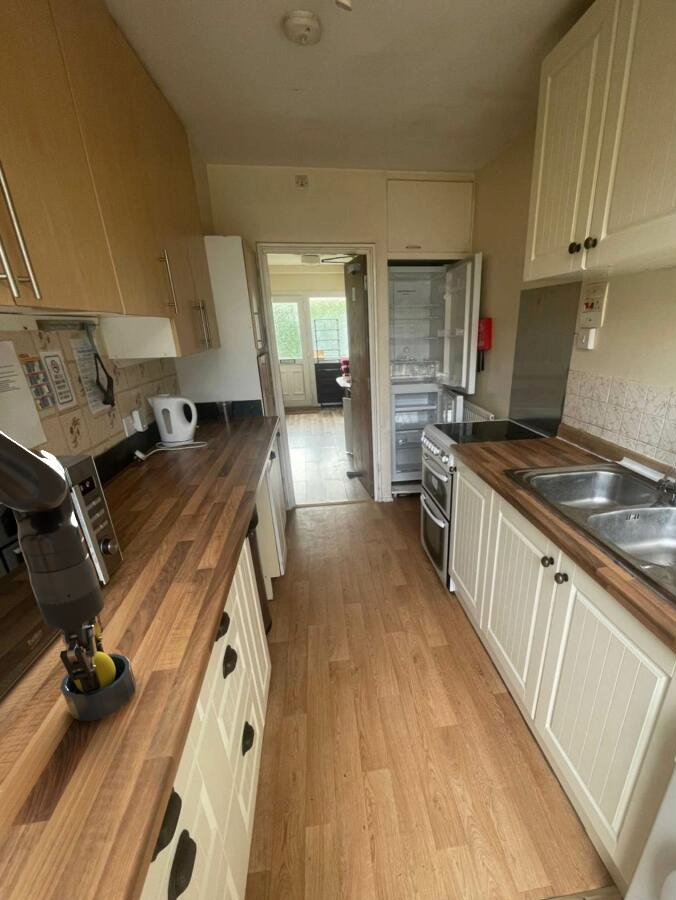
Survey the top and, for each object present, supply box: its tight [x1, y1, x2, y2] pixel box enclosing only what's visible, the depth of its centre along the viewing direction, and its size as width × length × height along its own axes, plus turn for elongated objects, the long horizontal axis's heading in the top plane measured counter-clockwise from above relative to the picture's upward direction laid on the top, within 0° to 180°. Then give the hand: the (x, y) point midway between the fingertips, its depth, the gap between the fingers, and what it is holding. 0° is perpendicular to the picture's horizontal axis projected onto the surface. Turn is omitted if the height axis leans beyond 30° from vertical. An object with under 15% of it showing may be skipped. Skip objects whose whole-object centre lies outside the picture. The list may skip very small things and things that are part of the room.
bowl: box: [59, 653, 137, 722], centre depth 70 cm, size 9×9×6 cm
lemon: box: [74, 651, 116, 694], centre depth 69 cm, size 6×6×8 cm
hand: (95, 675), depth 69 cm, fingers closed on lemon, 5 cm apart
